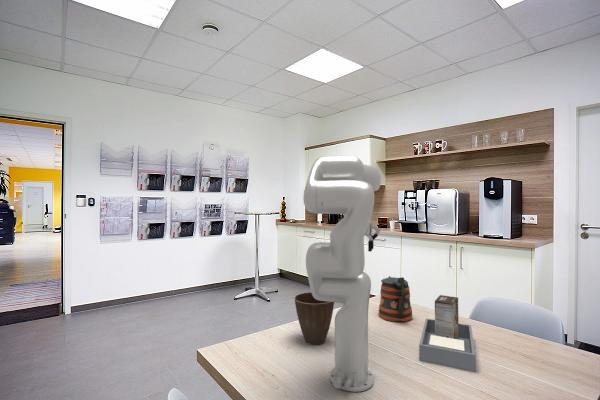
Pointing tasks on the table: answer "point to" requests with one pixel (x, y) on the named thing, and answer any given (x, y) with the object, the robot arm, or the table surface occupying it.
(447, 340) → the cream rectangular block
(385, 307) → the beer stein
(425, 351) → the tote
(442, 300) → the coffee box
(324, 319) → the plant pot
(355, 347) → the robot arm
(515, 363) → the table surface
